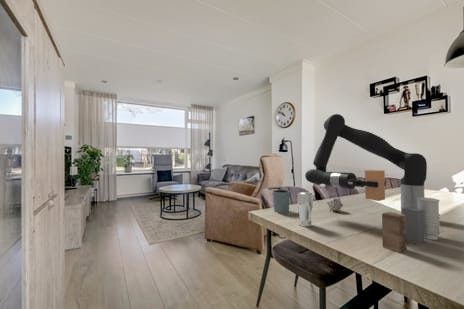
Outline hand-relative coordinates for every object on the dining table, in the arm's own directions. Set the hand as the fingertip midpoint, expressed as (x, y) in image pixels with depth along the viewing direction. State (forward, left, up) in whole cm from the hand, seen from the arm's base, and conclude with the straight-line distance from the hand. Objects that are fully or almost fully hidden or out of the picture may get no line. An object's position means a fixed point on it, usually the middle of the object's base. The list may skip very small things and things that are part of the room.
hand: (381, 184), depth 86 cm
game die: (-7, -37, -21) cm, 43 cm away
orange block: (+1, -3, -7) cm, 7 cm away
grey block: (-7, +7, -21) cm, 23 cm away
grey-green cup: (+23, -44, -21) cm, 54 cm away
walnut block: (+7, +10, -21) cm, 24 cm away
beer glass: (+23, -20, -21) cm, 37 cm away
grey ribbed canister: (-16, +5, -21) cm, 27 cm away
